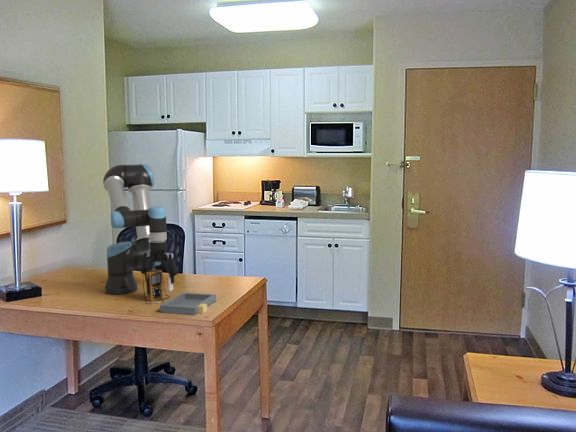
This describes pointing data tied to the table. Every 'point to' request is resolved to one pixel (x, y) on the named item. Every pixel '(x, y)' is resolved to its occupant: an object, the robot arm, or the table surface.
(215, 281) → the table surface
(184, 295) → the tray
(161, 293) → the multimeter
